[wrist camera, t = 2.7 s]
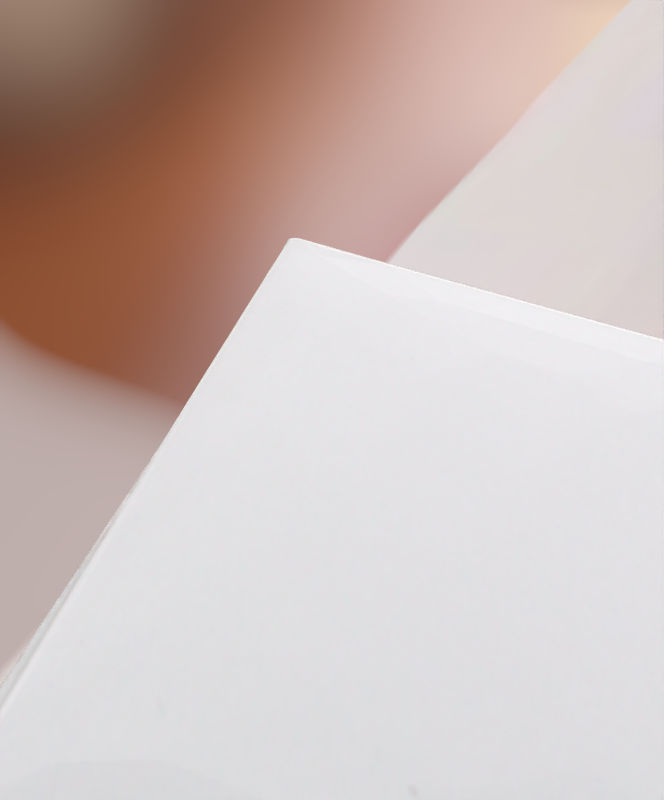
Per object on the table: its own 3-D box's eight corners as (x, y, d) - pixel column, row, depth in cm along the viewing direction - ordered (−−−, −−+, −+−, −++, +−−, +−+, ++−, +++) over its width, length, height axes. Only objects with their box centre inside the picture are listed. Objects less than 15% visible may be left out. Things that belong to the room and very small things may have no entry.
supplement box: (489, 561, 16) (841, 372, 5) (442, 811, 13) (1201, 1735, 2) (305, 491, 17) (290, 215, 7) (215, 703, 14) (-149, 871, 3)
